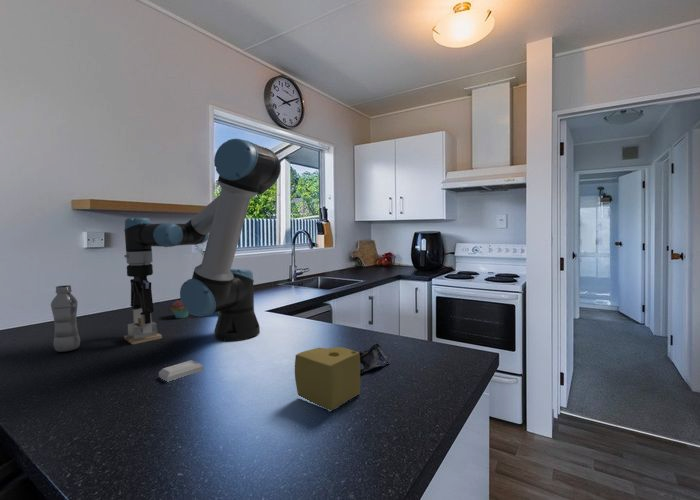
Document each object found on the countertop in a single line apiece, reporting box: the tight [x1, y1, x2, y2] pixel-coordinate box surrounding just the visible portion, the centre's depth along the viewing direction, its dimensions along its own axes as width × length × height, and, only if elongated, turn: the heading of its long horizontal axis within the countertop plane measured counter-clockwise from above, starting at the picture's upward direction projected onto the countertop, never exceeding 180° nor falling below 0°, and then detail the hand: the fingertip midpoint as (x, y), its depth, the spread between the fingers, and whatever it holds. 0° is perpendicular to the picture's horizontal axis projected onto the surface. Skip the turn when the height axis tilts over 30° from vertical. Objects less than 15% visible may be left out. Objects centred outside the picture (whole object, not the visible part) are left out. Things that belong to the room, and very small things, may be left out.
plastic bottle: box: [50, 284, 81, 353], centre depth 110 cm, size 6×7×20 cm
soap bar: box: [158, 359, 204, 383], centre depth 91 cm, size 5×9×3 cm, turn 140°
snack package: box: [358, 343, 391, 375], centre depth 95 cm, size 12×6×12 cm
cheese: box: [294, 346, 361, 410], centre depth 78 cm, size 10×11×10 cm
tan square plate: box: [123, 318, 163, 345], centre depth 122 cm, size 9×9×7 cm
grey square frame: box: [127, 321, 158, 340], centre depth 122 cm, size 7×7×4 cm
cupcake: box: [170, 299, 190, 319], centre depth 151 cm, size 9×8×12 cm
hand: (142, 330), depth 122 cm, fingers open, 8 cm apart
